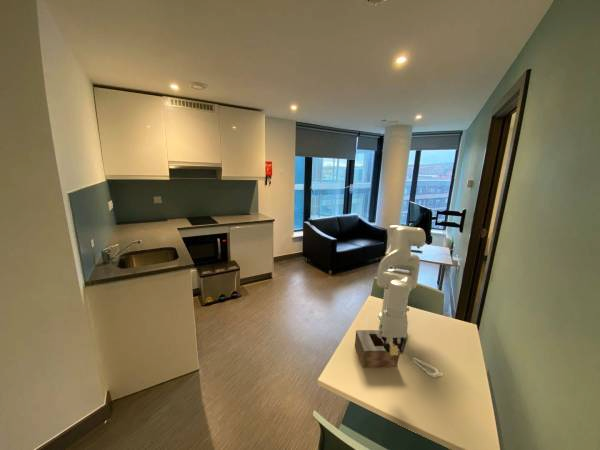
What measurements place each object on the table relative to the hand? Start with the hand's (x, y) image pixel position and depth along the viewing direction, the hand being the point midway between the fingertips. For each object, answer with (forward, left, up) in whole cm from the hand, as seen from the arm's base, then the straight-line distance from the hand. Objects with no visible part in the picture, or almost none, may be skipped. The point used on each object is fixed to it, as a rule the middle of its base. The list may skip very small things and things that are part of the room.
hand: (390, 349), depth 100 cm
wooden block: (0, +1, -1) cm, 1 cm away
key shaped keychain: (-20, -5, -16) cm, 26 cm away
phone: (-15, -23, -16) cm, 32 cm away
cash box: (+1, -13, -15) cm, 20 cm away
